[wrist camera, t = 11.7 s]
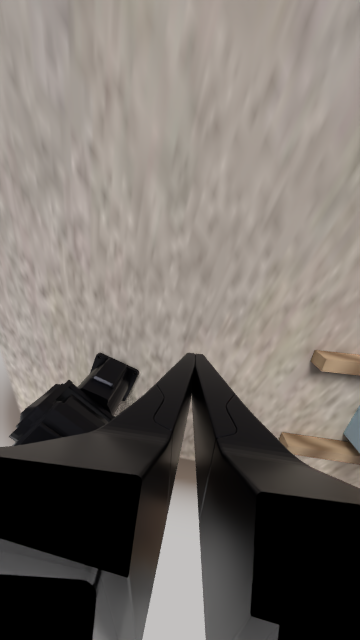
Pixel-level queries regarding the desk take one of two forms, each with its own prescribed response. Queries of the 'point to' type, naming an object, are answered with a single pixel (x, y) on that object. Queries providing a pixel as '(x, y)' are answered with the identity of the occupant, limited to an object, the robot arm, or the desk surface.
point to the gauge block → (354, 430)
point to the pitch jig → (323, 446)
